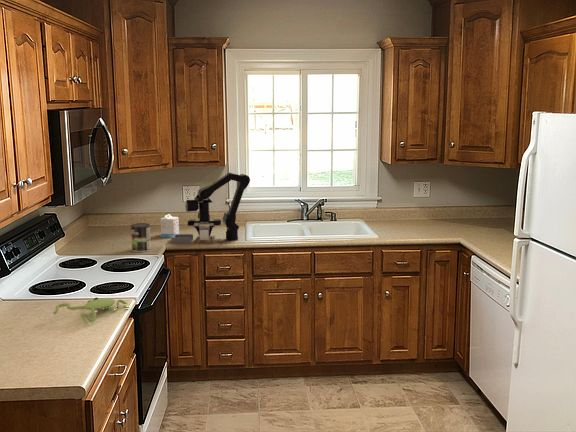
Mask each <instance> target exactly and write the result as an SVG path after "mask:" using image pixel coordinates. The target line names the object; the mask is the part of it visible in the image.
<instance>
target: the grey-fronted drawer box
mask: <svg viewBox="0 0 576 432" xmlns="http://www.w3.org/2000/svg"><path fill="white" fill-rule="evenodd" d="M209 227H210V225H208V226H207V225H205V226H202V225H201V226H200V229H199V230H200V240H209V238H210V237H209Z"/></svg>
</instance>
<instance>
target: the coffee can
mask: <svg viewBox="0 0 576 432" xmlns="http://www.w3.org/2000/svg"><path fill="white" fill-rule="evenodd" d="M130 231H131V235H130V237H131V251H132V252H134V253H145V251H147V252H150V251H151V250H152V249H151V248H152V247H151V223H146V222H141V223H140V222H137V223H132V224H131V225H130ZM149 250H150V251H149Z"/></svg>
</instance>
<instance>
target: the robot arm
mask: <svg viewBox="0 0 576 432" xmlns="http://www.w3.org/2000/svg"><path fill="white" fill-rule="evenodd" d="M230 181H235V182H236V189H235V192H234V193H233V194H234V195H233V198H232V201H231V204H230V206H229V209H228V211H227V212H224V213H223V216H222V218H221V219H222V220H221V219H220V218H214V219H213V220H211V215H210V203H213V201H212V200H211V199H210V197H211V196H212V195H213V194H214V193H215V192H216V190H218V189H220V188H222V187H223V186H225V185H226V184H228V183H229V182H230ZM250 182H251V178H250V176H249V175H247V174H244V173H240V174H238V173H237V174H236V173H232V172H227V173H226V174H225V175H223V176H222V177H220V178H219V179H217V180H216V181H214V182H212V183H211V184H209V185H206V186H204V187H201V188H199V189H198V191H197V194H196V196H195V197H194V199H186V200H185V208H184V209H185V212H187V213H189V212H197V211H198V213H197V218H198V219H199V220H196V219H195V218H192V219H189V220H188V221H187V226H188V227H189V226H190V227H193V228H195V229H196V230H195V231H196V232H197V233H198V236H200V230H199V229H200V227H201V226H200V225H209V226H210V227H209V237H210V236H212V235H211V234H212V231H213V228H215V227H216V226H221V225H222V223H223V225H224V226H225V227H226V231H225V239H226V241H238V240H239V228H240V226H239V225H238V224H237V223H236V220H237V211H238V208H239V206H240V202H241V200H242V197H243V196H244V192H245V190H246V189H247V187H248V186H249V184H250Z"/></svg>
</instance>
